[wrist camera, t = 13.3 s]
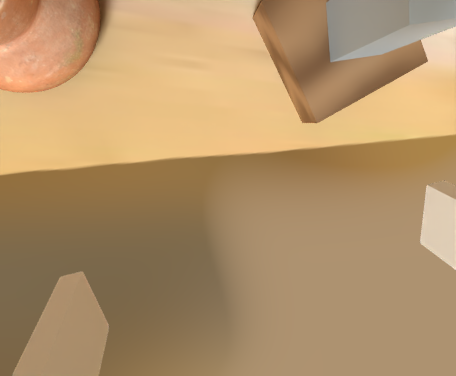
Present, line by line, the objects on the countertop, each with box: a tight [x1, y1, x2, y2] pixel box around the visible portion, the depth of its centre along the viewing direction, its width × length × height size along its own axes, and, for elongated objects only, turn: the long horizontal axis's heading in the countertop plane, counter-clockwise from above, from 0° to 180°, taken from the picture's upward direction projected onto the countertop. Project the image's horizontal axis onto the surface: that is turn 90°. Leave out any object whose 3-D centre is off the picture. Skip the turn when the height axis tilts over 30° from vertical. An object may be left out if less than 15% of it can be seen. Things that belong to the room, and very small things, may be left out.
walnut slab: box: [253, 0, 428, 123], centre depth 31 cm, size 12×12×5 cm
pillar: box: [326, 0, 456, 62], centre depth 23 cm, size 5×5×11 cm
